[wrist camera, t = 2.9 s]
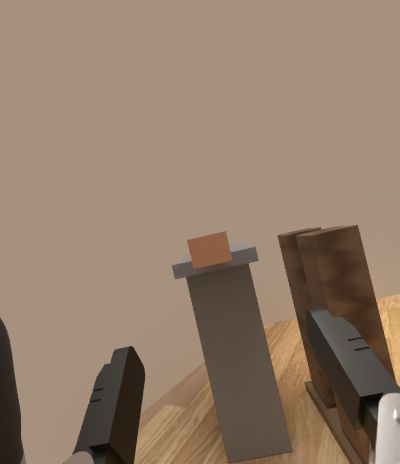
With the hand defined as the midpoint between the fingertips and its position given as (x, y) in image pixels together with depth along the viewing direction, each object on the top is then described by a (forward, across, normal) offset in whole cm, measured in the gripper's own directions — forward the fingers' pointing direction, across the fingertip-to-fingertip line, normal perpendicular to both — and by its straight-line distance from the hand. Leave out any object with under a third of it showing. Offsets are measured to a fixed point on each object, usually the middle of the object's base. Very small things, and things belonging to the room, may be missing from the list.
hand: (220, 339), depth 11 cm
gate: (+11, -16, +41) cm, 46 cm away
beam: (+24, 0, +12) cm, 27 cm away
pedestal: (+12, 0, +42) cm, 44 cm away
